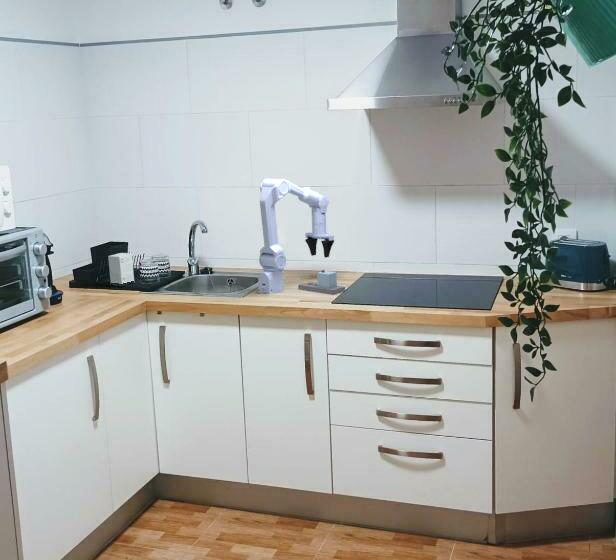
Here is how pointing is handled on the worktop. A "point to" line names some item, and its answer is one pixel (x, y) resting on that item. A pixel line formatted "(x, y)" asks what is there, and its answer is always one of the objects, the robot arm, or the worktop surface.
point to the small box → (121, 268)
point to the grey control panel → (320, 288)
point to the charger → (327, 279)
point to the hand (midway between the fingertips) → (320, 256)
